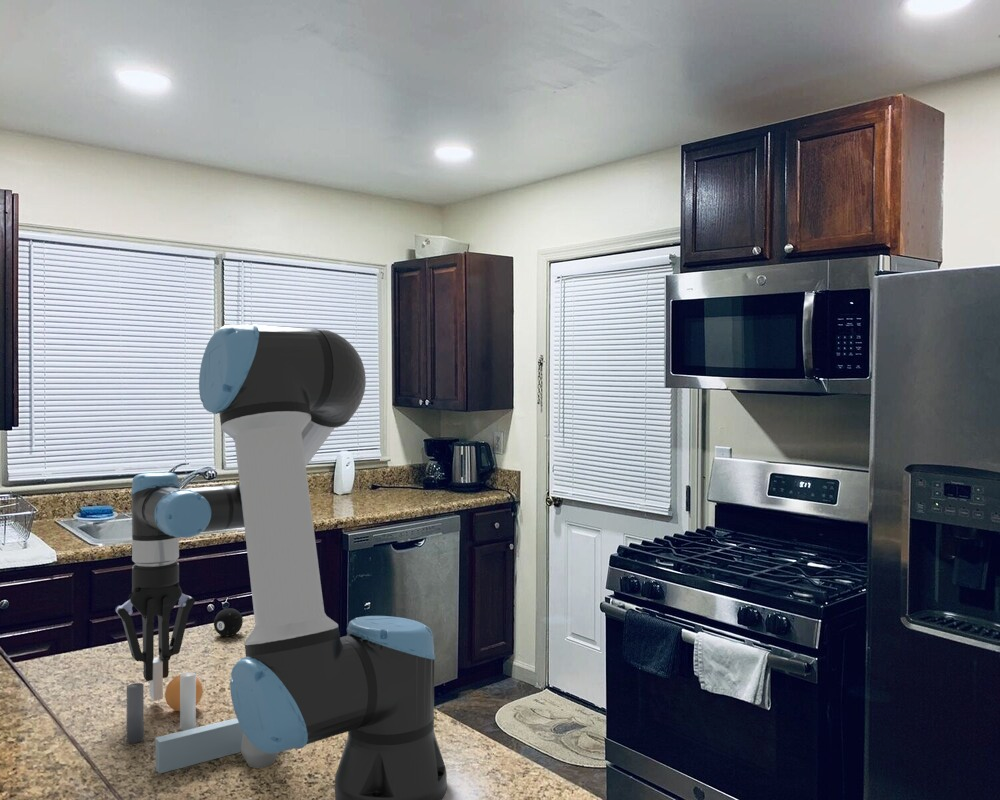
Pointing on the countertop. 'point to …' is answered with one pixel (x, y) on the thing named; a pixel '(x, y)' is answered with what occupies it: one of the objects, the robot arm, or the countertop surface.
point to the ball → (174, 693)
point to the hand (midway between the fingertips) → (156, 697)
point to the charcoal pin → (135, 713)
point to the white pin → (187, 701)
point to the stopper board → (197, 745)
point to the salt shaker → (256, 754)
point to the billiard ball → (228, 622)
